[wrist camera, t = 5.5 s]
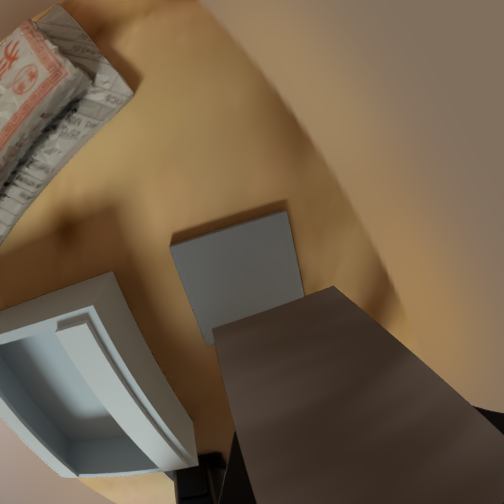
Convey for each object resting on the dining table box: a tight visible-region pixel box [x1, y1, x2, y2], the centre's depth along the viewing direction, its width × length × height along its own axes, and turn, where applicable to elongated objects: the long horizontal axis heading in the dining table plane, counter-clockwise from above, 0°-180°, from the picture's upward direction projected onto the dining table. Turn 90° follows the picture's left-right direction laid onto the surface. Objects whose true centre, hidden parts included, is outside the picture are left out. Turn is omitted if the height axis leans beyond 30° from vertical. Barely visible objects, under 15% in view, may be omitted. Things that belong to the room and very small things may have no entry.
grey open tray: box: [0, 271, 199, 478], centre depth 15 cm, size 14×13×5 cm
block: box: [212, 286, 504, 504], centre depth 6 cm, size 4×6×8 cm, turn 14°
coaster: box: [169, 210, 304, 346], centre depth 18 cm, size 7×7×1 cm
